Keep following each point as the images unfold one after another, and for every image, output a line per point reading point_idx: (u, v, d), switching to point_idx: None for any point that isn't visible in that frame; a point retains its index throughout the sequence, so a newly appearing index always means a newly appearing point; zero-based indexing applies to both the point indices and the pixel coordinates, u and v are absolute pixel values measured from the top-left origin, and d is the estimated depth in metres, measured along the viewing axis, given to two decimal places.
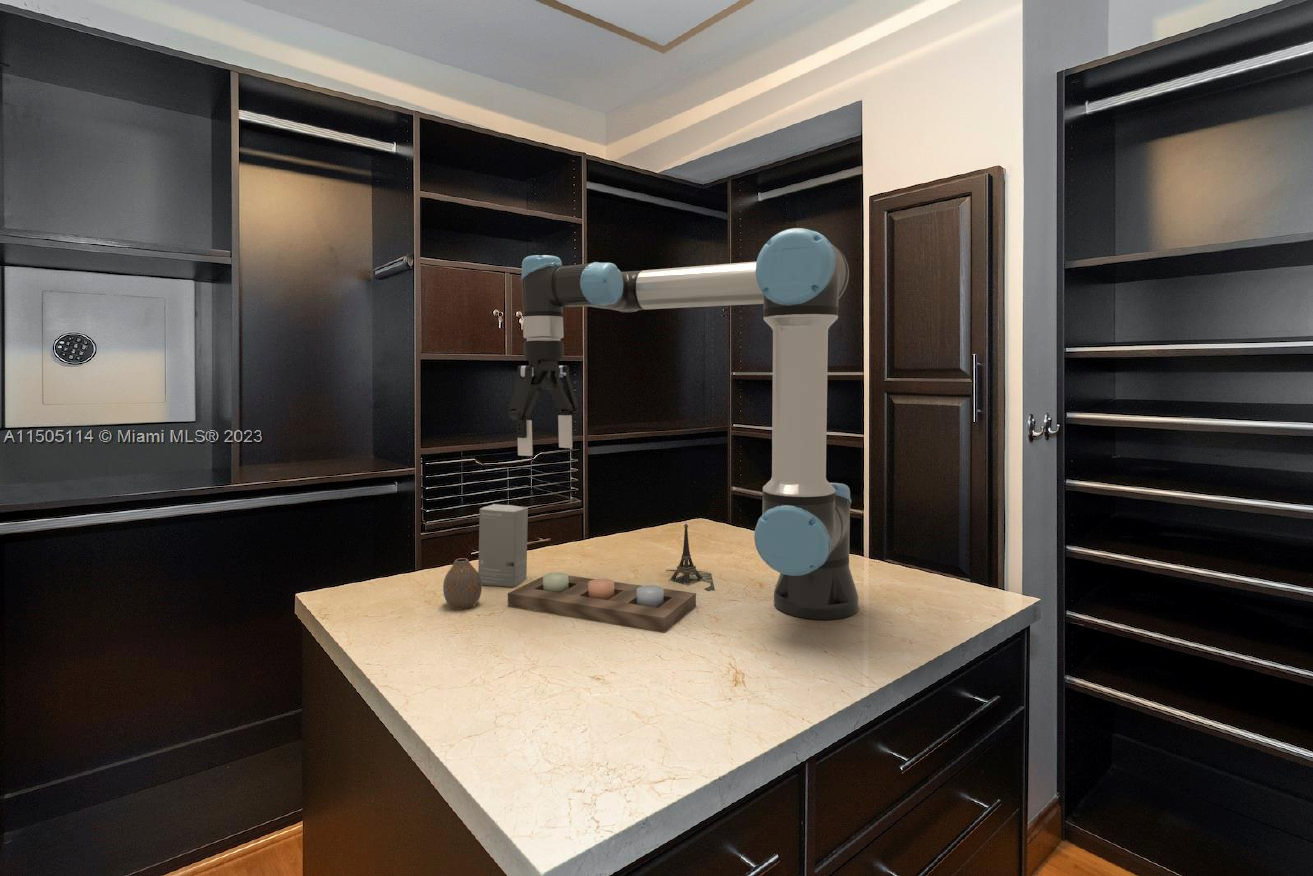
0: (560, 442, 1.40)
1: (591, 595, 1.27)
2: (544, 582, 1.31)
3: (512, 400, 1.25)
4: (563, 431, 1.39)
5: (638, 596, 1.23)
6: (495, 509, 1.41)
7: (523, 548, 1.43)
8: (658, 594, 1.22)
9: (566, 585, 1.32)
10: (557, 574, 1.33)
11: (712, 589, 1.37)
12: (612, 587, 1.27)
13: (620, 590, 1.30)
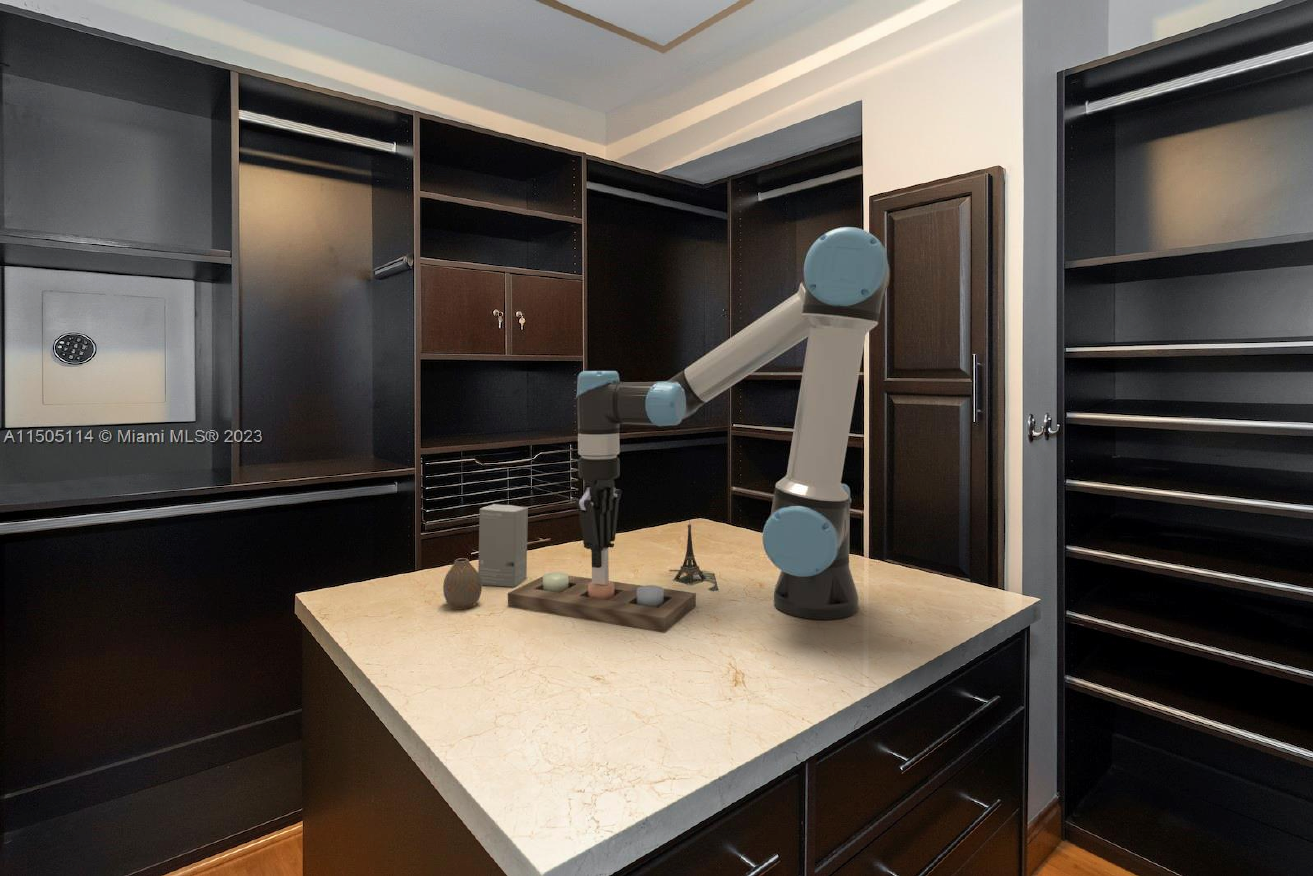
0: None
1: (591, 597, 1.27)
2: (544, 582, 1.31)
3: (583, 534, 1.24)
4: None
5: (638, 596, 1.23)
6: (495, 509, 1.41)
7: (523, 548, 1.43)
8: (658, 594, 1.22)
9: (566, 585, 1.32)
10: (557, 574, 1.33)
11: (716, 589, 1.37)
12: (612, 589, 1.27)
13: (620, 590, 1.30)
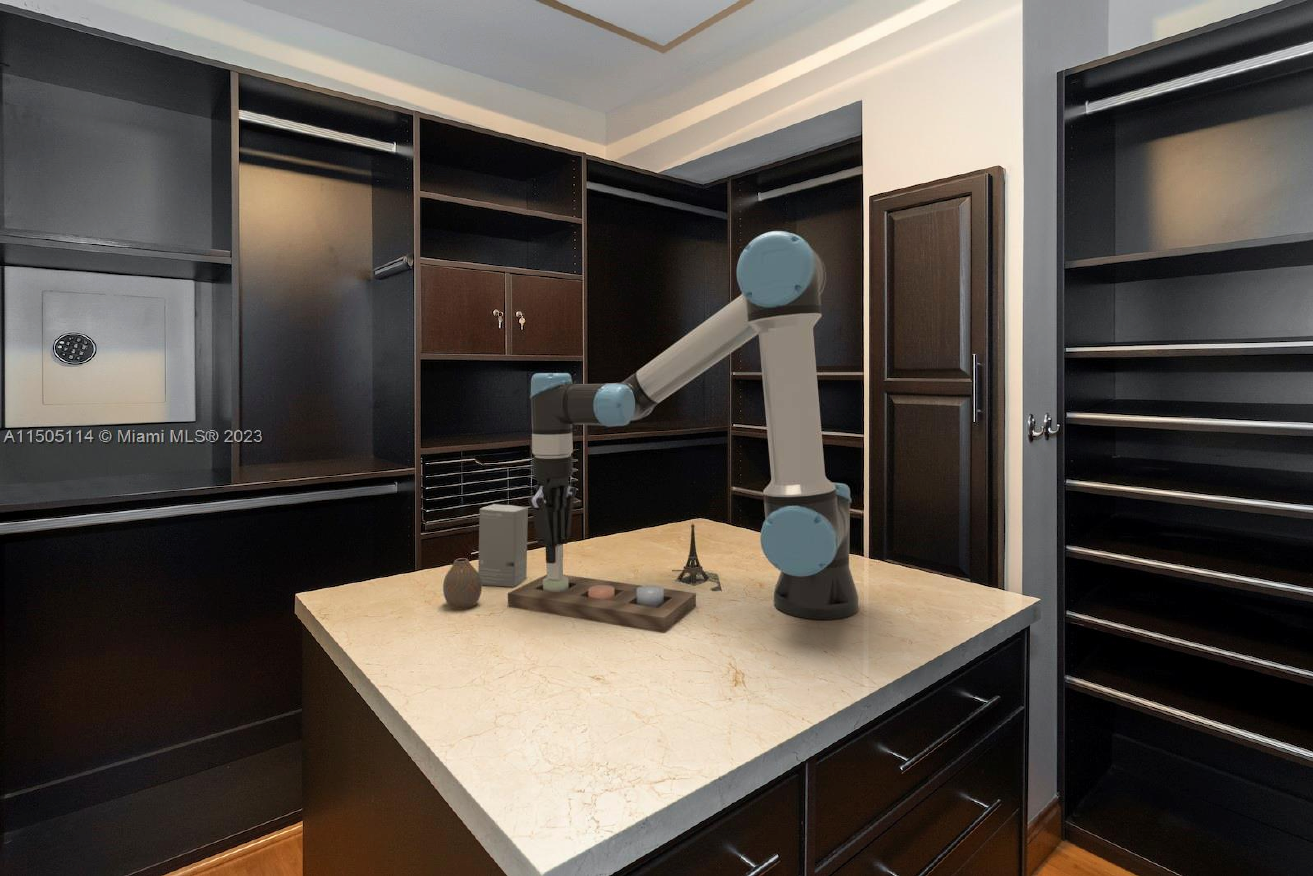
0: None
1: None
2: (544, 586, 1.31)
3: (537, 531, 1.28)
4: None
5: (638, 596, 1.23)
6: (495, 509, 1.41)
7: (523, 548, 1.43)
8: (658, 594, 1.22)
9: (566, 589, 1.32)
10: None
11: (719, 589, 1.37)
12: (612, 594, 1.27)
13: (620, 590, 1.30)
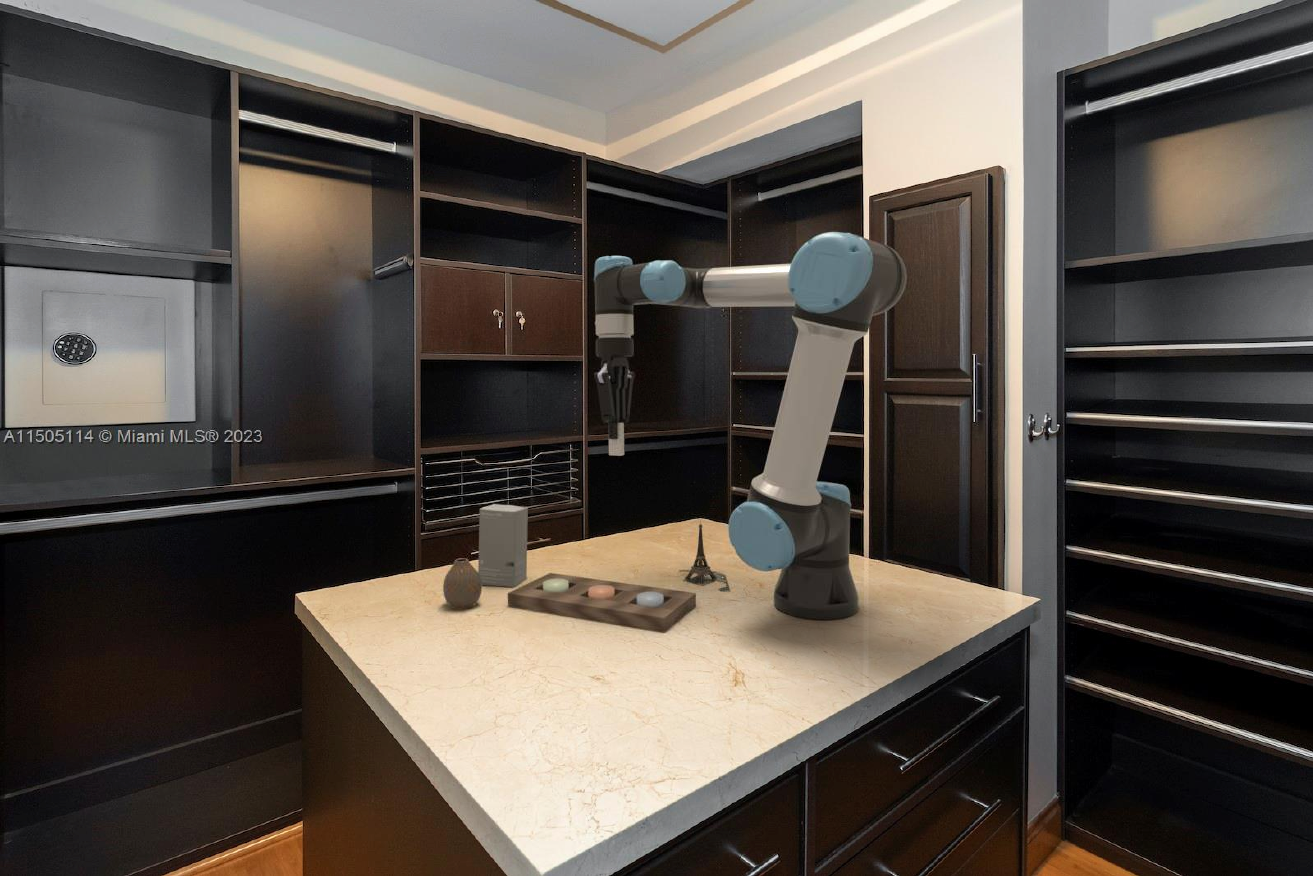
0: None
1: None
2: (544, 588, 1.31)
3: (601, 406, 1.36)
4: (615, 439, 1.40)
5: (638, 603, 1.23)
6: (495, 509, 1.41)
7: (523, 548, 1.43)
8: (658, 601, 1.22)
9: None
10: (557, 581, 1.33)
11: (727, 589, 1.37)
12: (612, 594, 1.27)
13: (620, 590, 1.30)
